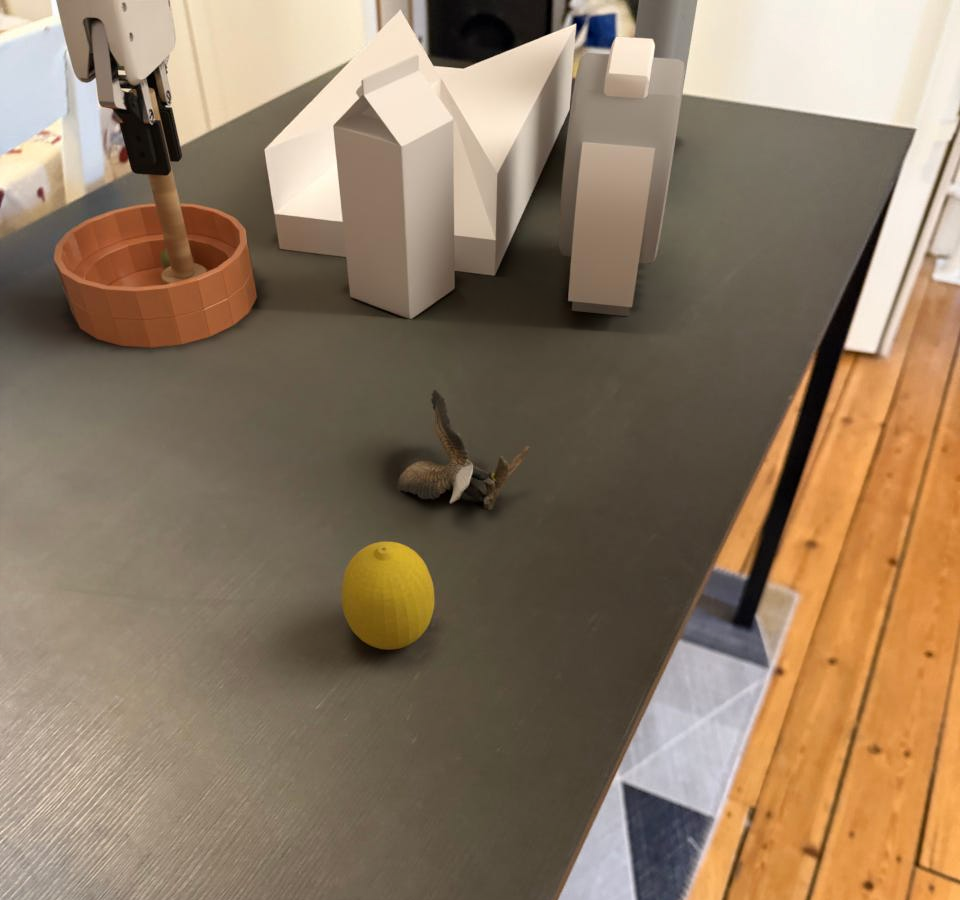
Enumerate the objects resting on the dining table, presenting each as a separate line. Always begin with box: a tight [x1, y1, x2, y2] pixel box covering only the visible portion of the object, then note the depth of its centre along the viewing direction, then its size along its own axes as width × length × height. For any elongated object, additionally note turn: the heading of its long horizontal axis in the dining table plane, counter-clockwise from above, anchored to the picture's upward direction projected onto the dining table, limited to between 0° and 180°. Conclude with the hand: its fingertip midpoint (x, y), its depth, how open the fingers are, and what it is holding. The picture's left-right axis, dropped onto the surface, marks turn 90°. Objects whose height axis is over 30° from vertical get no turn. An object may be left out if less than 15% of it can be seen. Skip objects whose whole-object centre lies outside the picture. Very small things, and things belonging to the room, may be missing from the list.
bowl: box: [53, 202, 258, 349], centre depth 82 cm, size 16×16×6 cm
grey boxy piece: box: [558, 36, 685, 317], centre depth 80 cm, size 18×8×20 cm, turn 170°
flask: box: [633, 0, 699, 107], centre depth 96 cm, size 17×5×25 cm, turn 162°
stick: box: [127, 87, 207, 285], centre depth 78 cm, size 4×4×16 cm
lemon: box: [340, 541, 435, 651], centre depth 55 cm, size 6×6×8 cm
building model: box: [263, 9, 577, 277], centre depth 102 cm, size 45×22×10 cm, turn 167°
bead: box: [160, 247, 194, 270], centre depth 85 cm, size 3×3×3 cm
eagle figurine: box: [397, 388, 530, 510], centre depth 65 cm, size 8×7×9 cm
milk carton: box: [333, 55, 456, 320], centre depth 79 cm, size 7×7×19 cm
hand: (157, 164), depth 76 cm, fingers closed on stick, 2 cm apart
